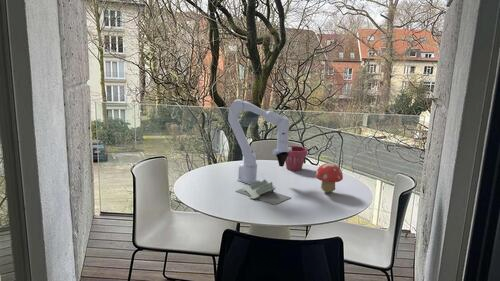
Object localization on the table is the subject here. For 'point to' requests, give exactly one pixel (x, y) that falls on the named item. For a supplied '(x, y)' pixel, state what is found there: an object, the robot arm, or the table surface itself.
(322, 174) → the decorative mushroom
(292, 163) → the plant pot
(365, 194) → the table surface
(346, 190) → the table surface
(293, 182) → the table surface
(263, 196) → the rubber mat
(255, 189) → the metal bracket
